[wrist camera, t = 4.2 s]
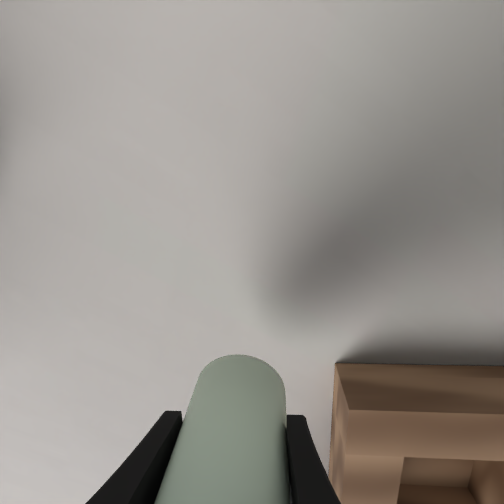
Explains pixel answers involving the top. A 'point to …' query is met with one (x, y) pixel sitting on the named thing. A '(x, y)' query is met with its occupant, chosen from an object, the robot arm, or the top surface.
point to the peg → (231, 438)
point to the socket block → (417, 434)
